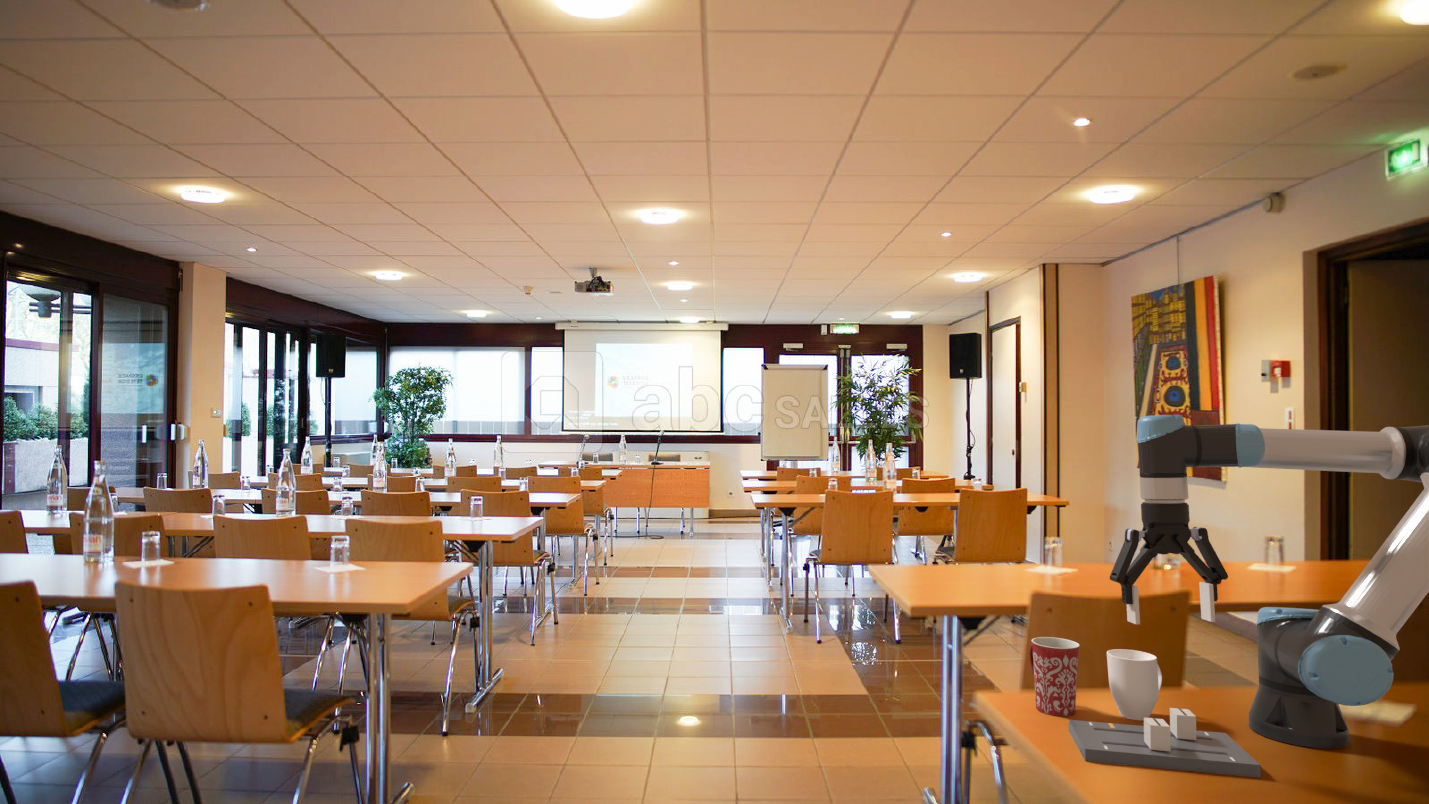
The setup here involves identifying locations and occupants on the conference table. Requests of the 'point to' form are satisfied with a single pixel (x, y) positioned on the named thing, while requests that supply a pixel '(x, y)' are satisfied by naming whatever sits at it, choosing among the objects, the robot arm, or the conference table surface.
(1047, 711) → the mug
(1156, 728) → the fader
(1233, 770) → the console
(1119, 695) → the mug
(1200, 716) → the conference table surface
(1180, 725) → the block
